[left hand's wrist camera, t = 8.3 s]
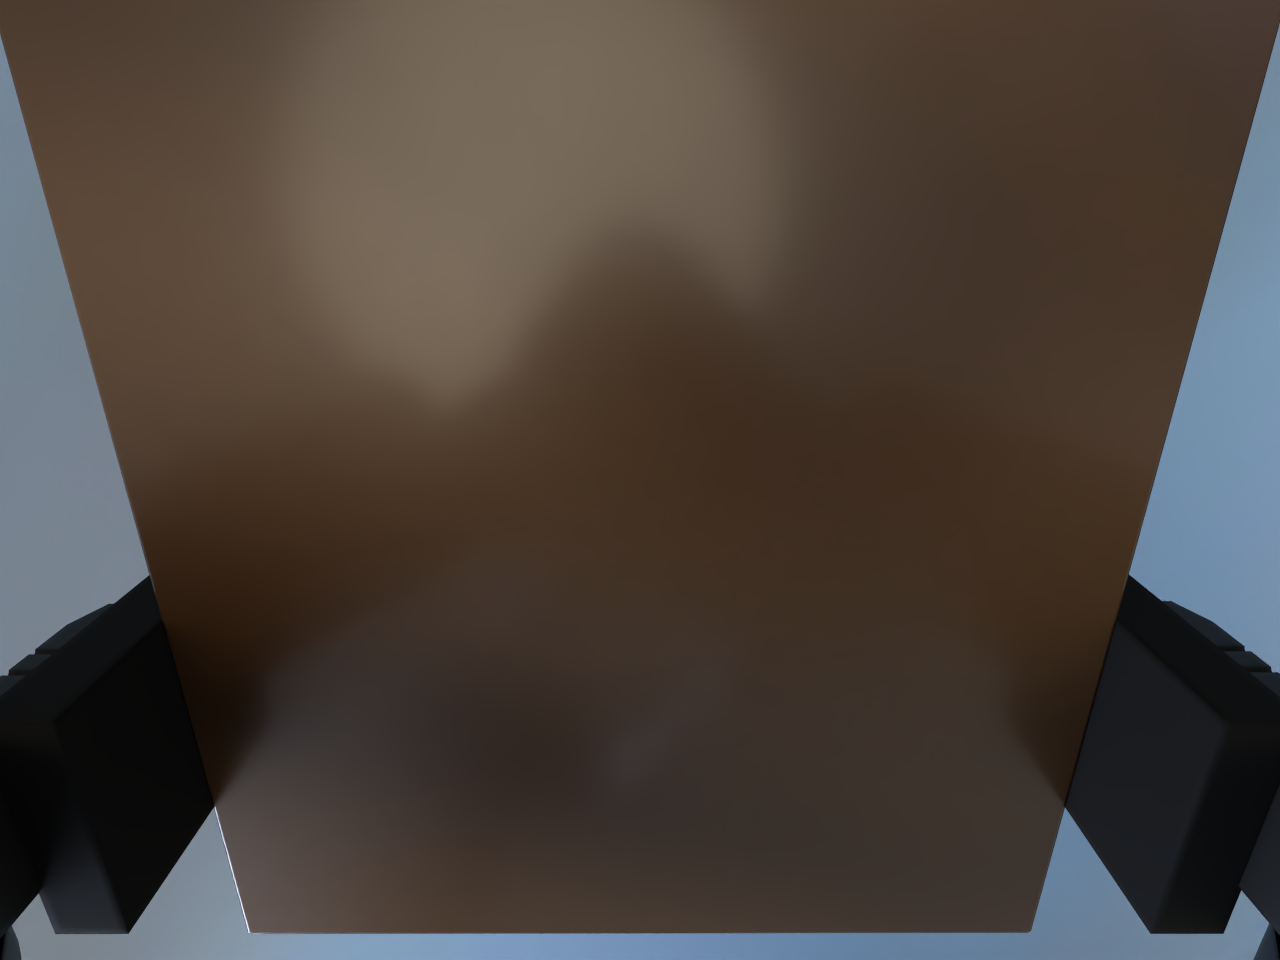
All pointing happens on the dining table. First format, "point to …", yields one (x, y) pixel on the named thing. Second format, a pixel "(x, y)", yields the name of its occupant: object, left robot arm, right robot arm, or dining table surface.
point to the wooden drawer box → (638, 428)
